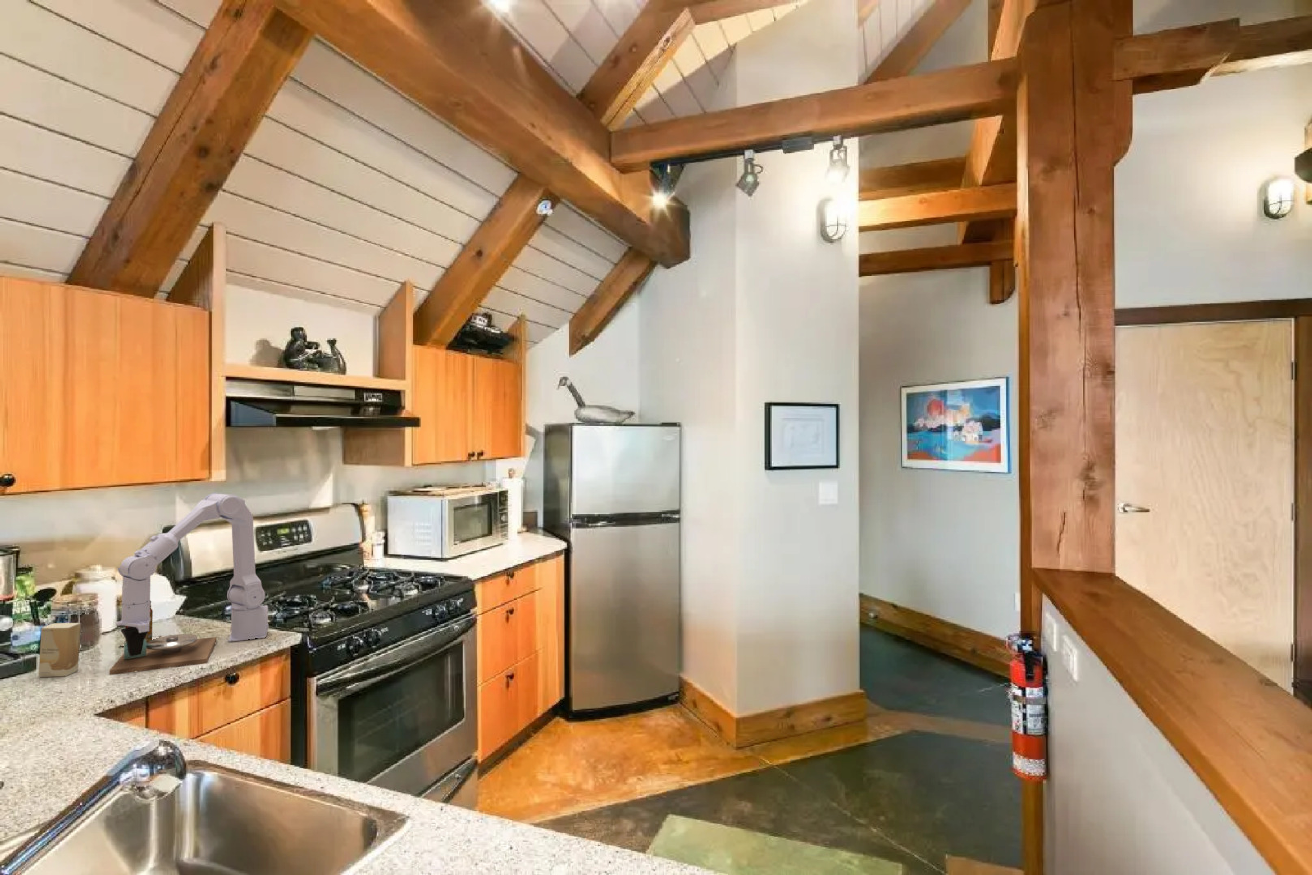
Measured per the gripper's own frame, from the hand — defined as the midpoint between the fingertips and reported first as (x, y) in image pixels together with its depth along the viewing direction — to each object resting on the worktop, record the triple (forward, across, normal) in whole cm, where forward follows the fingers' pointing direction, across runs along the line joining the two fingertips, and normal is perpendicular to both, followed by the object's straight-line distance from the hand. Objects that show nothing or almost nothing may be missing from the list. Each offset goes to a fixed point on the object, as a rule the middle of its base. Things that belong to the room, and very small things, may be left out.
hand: (134, 654), depth 166 cm
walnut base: (+3, 0, +8) cm, 9 cm away
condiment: (+3, -21, +7) cm, 22 cm away
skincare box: (+3, -6, -14) cm, 15 cm away
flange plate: (+1, -1, +6) cm, 6 cm away
